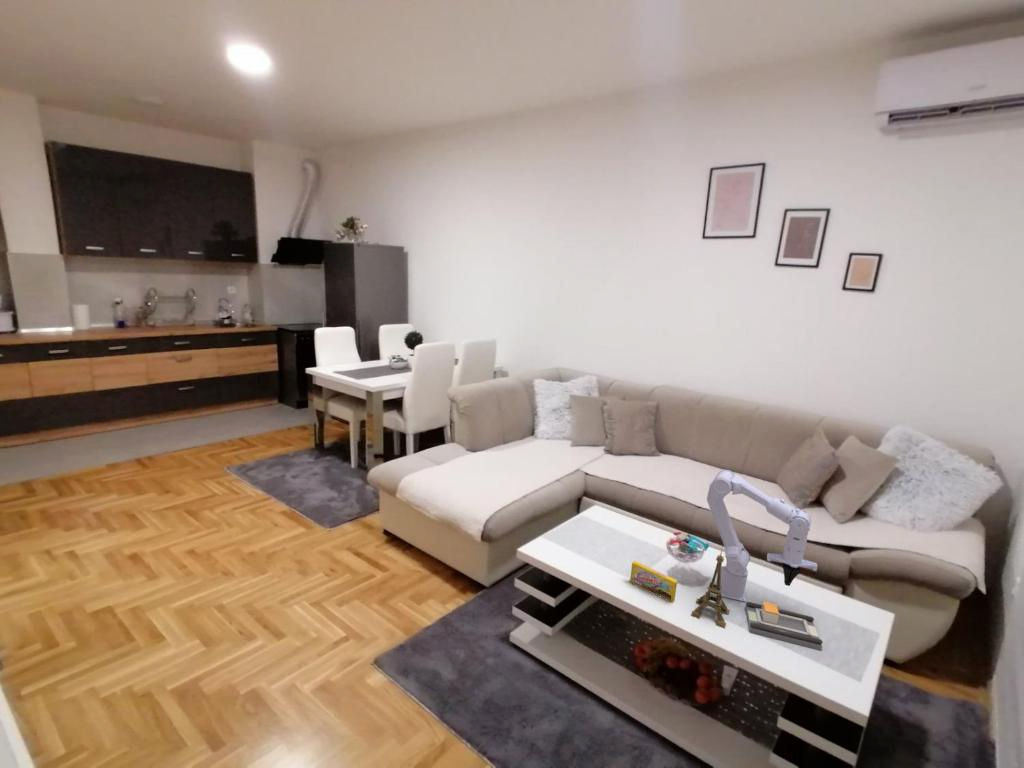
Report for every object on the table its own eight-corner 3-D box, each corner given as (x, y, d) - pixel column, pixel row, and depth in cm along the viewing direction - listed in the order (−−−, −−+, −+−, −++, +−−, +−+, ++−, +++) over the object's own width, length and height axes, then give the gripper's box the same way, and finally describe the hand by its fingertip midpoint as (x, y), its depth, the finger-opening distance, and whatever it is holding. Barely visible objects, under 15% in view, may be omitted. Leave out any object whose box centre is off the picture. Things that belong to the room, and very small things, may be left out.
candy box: (629, 582, 183) (631, 562, 181) (631, 580, 184) (634, 559, 182) (672, 603, 172) (675, 582, 171) (674, 601, 174) (678, 579, 172)
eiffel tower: (729, 610, 171) (742, 543, 165) (724, 628, 162) (738, 558, 156) (697, 599, 176) (708, 533, 170) (690, 615, 167) (702, 547, 161)
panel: (749, 632, 161) (750, 624, 160) (744, 607, 173) (746, 599, 172) (821, 650, 155) (823, 642, 154) (811, 623, 167) (813, 615, 166)
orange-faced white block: (762, 622, 163) (765, 610, 162) (760, 613, 168) (763, 601, 167) (776, 626, 162) (779, 613, 161) (773, 616, 166) (776, 604, 165)
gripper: (772, 548, 165) (764, 585, 168) (822, 558, 161) (814, 596, 164) (769, 537, 172) (761, 573, 175) (817, 547, 168) (809, 584, 171)
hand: (786, 583), depth 170 cm, fingers closed
